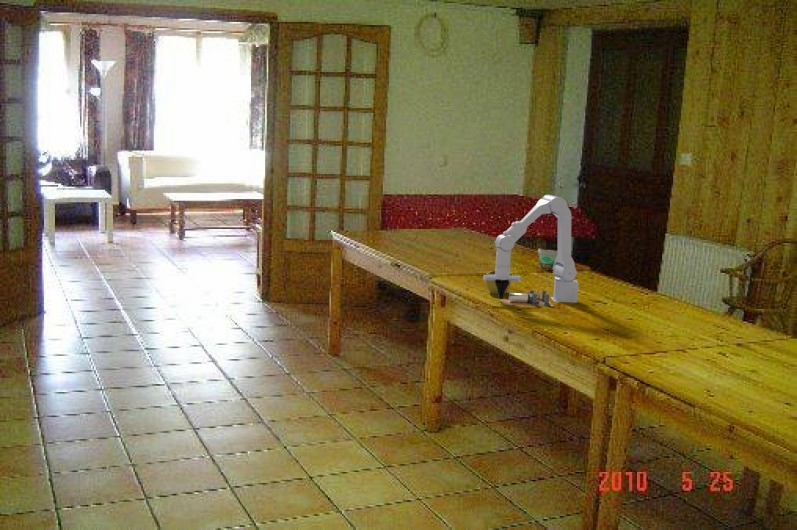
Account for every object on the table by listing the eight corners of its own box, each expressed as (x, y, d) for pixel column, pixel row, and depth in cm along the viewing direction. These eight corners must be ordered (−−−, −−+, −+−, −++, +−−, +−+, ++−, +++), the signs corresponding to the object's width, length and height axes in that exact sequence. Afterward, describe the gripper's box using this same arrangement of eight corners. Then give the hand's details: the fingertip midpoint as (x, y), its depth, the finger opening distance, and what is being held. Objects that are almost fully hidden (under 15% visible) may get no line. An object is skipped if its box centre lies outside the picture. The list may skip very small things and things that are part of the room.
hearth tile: (548, 301, 335) (548, 300, 335) (553, 307, 325) (553, 306, 325) (499, 299, 335) (499, 298, 335) (503, 305, 325) (503, 304, 325)
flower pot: (484, 294, 344) (485, 273, 342) (492, 290, 351) (493, 269, 350) (504, 297, 340) (505, 275, 338) (511, 293, 347) (513, 272, 346)
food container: (534, 269, 402) (536, 249, 400) (536, 267, 408) (538, 247, 406) (560, 272, 399) (561, 251, 397) (561, 270, 405) (563, 249, 403)
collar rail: (545, 300, 335) (546, 289, 334) (550, 306, 325) (551, 295, 324) (527, 299, 335) (528, 289, 334) (531, 305, 325) (532, 294, 324)
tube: (537, 300, 332) (539, 292, 330) (539, 304, 328) (540, 296, 327) (508, 299, 331) (509, 291, 330) (509, 303, 328) (510, 295, 326)
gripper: (485, 266, 323) (483, 300, 325) (522, 267, 323) (520, 301, 326) (483, 263, 330) (481, 296, 332) (519, 264, 330) (517, 297, 333)
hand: (500, 298), depth 329 cm, fingers closed
